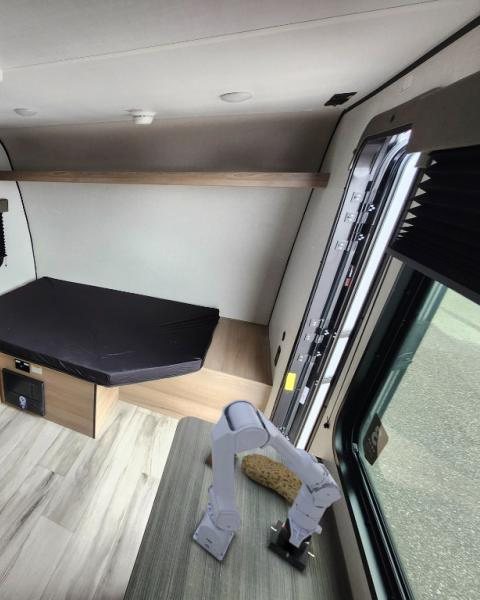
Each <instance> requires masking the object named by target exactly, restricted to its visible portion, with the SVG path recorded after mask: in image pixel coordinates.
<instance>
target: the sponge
mask: <svg viewBox="0 0 480 600" xmlns="http://www.w3.org/2000/svg"><path fill="white" fill-rule="evenodd" d="M240 468H241V470H242V471H243V472H244V473H245V474H246V475H247V477H249V478H250V479H251V480H253V481H255V482H257V483H258V484H260V485H262V486H265V487H267V488H270V489H272V490H273V491H275V492H276V493H277V494H279V495H281V497H284V498H285V499H286V501H288V502H289V503H290V504H291V505H293V503H294V501H295V499H296V497H297V495H298V492H299V490H300V488H301V486H302V484H303V482H302V481H301V480H300V479H299V478H298V477H297V476H296V475H295V474H294V473H293V472H292V471H291V470H290V469H289V468H288V467H287V466H286V465H284V464H282V463H281V462H278V461H276V460H274V459H273V458H270V457H269V456H266V455H263V454H258V453H253V454H250V453H249V454H247V455H244V456H243V457H242V459H241V464H240Z"/></svg>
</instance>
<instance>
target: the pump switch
mask: <svg viewBox="0 0 480 600" xmlns="http://www.w3.org/2000/svg"><path fill="white" fill-rule="evenodd" d="M237 457H238V453H237V454H234V462H235V461H236V459H237ZM205 464H206V465H208V466H209V467H211V468H212V451H211V453H209V455H208V457H207V459H206V460H205Z"/></svg>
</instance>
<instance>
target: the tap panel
mask: <svg viewBox="0 0 480 600" xmlns="http://www.w3.org/2000/svg"><path fill="white" fill-rule="evenodd" d="M283 523H284V522H283V521H282V520H279V519H278V520H277V522H276V525H275V527H272V526H270V529H272V531H273V533H272V536H271V539H270V541H269V544H268V549H269V550H270V551H271V552H273V553H274V554H275V555H277V556H278V557H280V558H281V559H282V560H284V561H285V562H287V563H288V564H289V565H291V566H292V567H293V568H295V569H296V570H298V571H299V572H300V573H304V571H305V569H306V567H307V564H308V560H309V555H310V556H311V557H312V558H315V555H314V554H312V553H311V547H312V543H313V541H312V540H310V541H309V544H308V546H307V548H306V550H305V552H303V551H301V550H300V549H298V548H297V547H294V546H293V545H291V544H290V543H288V542H287V540H286V539H284V538H283V537H281V536H280V535H279V532H280V529H281V527H282V525H283Z"/></svg>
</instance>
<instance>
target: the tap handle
mask: <svg viewBox="0 0 480 600" xmlns="http://www.w3.org/2000/svg"><path fill="white" fill-rule="evenodd" d="M279 535H280V536H281V537H283V538H284V539H286V540H287V529H286V527H285V522H283V525H282V527H281V529H280V532H279ZM308 544H309V542H303V543H301V544H300V546H299V548H298V547H297V548H298V549H300V550H301V551H303V552H305V550H306V548H307V546H308Z"/></svg>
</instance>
